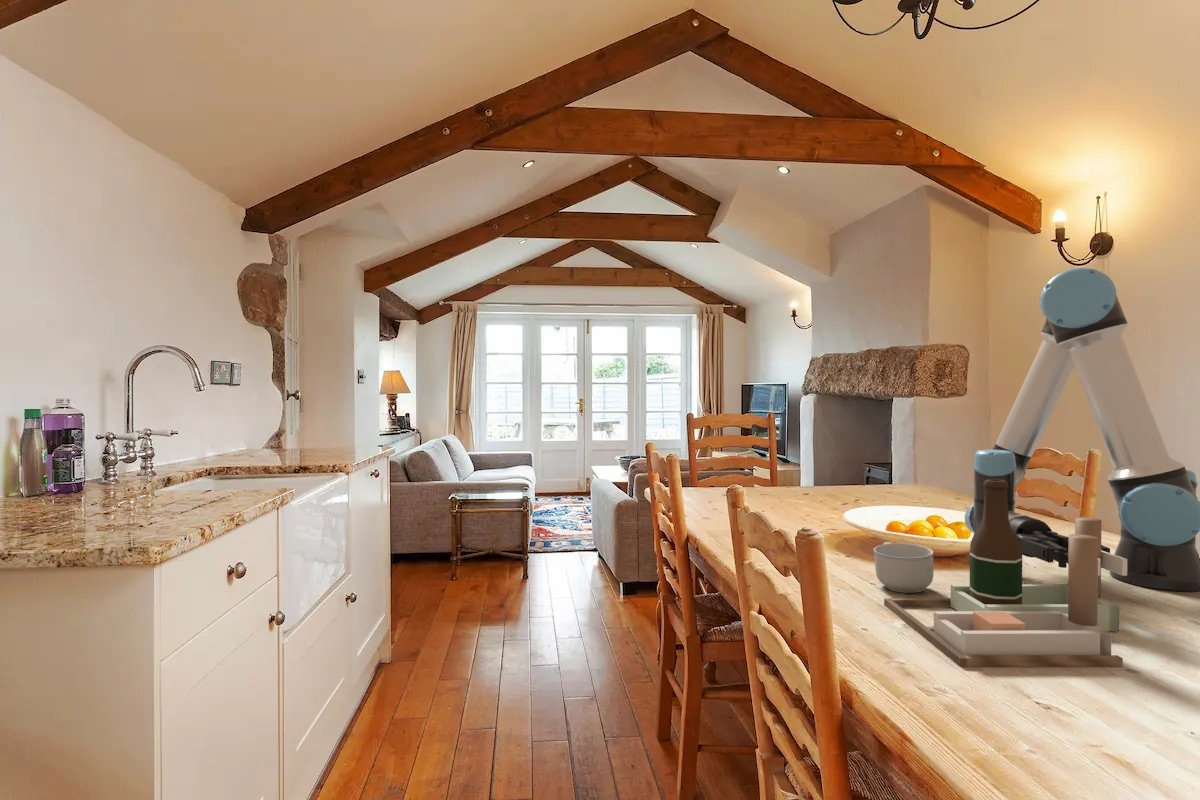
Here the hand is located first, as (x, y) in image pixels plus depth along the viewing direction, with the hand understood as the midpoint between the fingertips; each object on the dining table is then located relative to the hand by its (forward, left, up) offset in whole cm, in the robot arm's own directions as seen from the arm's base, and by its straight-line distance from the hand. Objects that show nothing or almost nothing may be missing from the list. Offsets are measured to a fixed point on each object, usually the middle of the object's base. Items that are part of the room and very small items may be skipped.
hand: (1111, 567), depth 107 cm
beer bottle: (+15, -6, -11) cm, 19 cm away
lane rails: (+19, 0, -10) cm, 22 cm away
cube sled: (+19, +7, -10) cm, 23 cm away
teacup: (+23, -24, -11) cm, 35 cm away
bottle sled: (+10, -5, -10) cm, 15 cm away
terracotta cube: (+22, +7, -11) cm, 26 cm away
